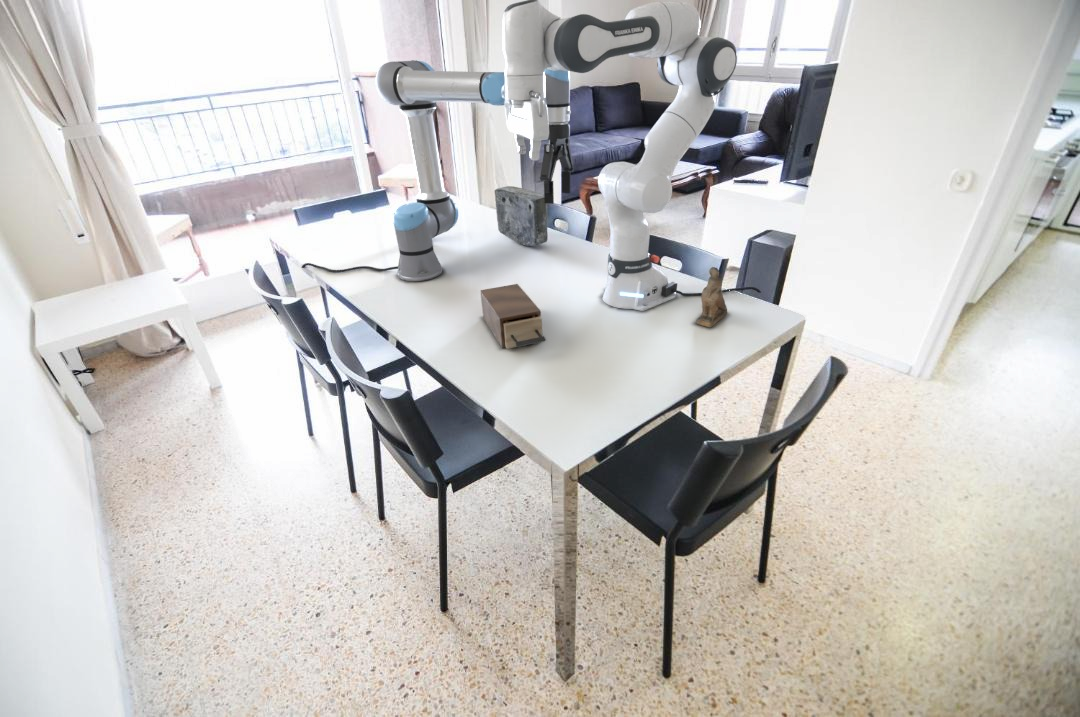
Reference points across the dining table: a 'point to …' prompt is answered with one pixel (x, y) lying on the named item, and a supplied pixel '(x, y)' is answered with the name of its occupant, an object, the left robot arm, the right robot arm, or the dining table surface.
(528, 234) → the concrete block
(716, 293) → the worn brown figurine
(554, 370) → the dining table surface
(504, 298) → the cabinet
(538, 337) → the drawer
